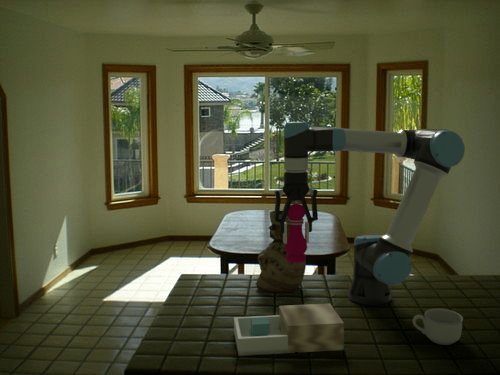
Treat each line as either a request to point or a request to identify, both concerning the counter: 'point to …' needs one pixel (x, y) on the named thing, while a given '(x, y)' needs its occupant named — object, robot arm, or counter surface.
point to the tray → (259, 337)
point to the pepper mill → (296, 234)
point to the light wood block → (311, 328)
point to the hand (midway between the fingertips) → (295, 242)
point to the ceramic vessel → (278, 264)
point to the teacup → (441, 325)
